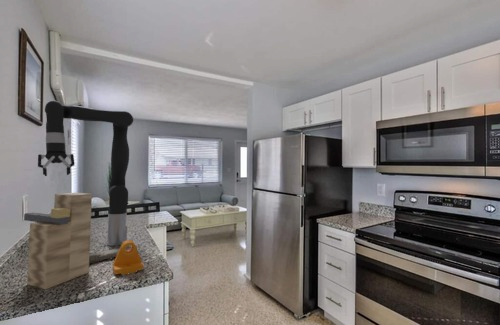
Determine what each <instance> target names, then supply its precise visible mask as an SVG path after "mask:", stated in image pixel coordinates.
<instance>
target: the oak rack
mask: <svg viewBox="0 0 500 325" xmlns="http://www.w3.org/2000/svg"><path fill="white" fill-rule="evenodd" d="M92 197H93V193H86V192H65V193H55V194H54V202H53V204H54V206H53V209H56V208H70V217H68V224H63V225H55V224H48V223H40V222H31V223H29V238H28V239H29V241H28V257H27V260H28V261H27V280H26V281H27V282H26V284H27V286H31V287H35V288H39V289H42V290H47V289H50V288H52V287H55V286H58V285H60V284H63V283H65V282H67V281H70V280H71V281H72V280H73V279H76V278H78V277H81V276H83V275H85V274H88V273H90V272H89V271H90V264H89V252H90V251H91V248H90V247H91V224H92V200H93V198H92Z"/></svg>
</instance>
